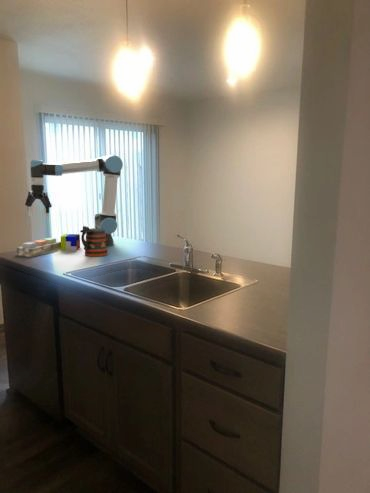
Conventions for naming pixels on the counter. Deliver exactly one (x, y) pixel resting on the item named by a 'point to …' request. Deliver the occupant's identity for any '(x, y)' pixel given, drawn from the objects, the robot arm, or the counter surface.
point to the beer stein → (94, 242)
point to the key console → (38, 249)
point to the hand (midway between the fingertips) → (38, 217)
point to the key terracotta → (40, 242)
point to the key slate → (29, 245)
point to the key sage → (50, 240)
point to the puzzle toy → (70, 242)
